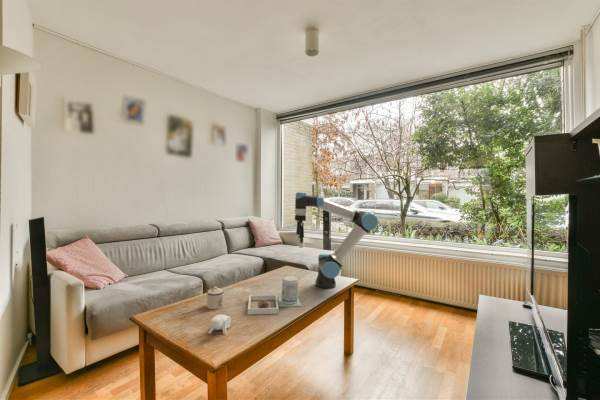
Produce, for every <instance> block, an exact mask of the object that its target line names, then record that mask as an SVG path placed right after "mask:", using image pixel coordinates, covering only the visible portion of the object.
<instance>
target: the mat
mask: <svg viewBox="0 0 600 400" xmlns="http://www.w3.org/2000/svg"><path fill="white" fill-rule="evenodd" d="M277 300H278V307H279V308H289V307H291V308H292V307H295V308H297V307H302V303H301V301H300V298H299V297H298V296H297V302H296V303H294V304H285V303H283V302H282V297H277Z"/></svg>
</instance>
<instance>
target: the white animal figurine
mask: <svg viewBox="0 0 600 400" xmlns="http://www.w3.org/2000/svg"><path fill="white" fill-rule="evenodd" d="M231 320H232V318H231V316H230V315H229V316H228V315H227V314H216V315H214V317H212V318H211V320H210V322H209V324H210V325H209V327H210V328H209V330H208V331H207V332H208V333H207V334H212V333H213V331H214V330H216V331H222V335H224V336H225V335H226V336H227V334H228V330H227V329H228V328H229V327H230V325H231V322H232V321H231Z"/></svg>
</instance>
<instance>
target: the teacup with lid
mask: <svg viewBox="0 0 600 400" xmlns="http://www.w3.org/2000/svg"><path fill="white" fill-rule="evenodd" d="M206 298H207V301H206V303H207V304H206V308H207V309H209V310H218V309H220V308H222V307H223V302H224V301H223V300H224V290H223V288H219V287H218V286H216V285H215V286H213V287H212V288H211V289H207V291H206Z"/></svg>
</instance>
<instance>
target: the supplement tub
mask: <svg viewBox="0 0 600 400" xmlns="http://www.w3.org/2000/svg"><path fill="white" fill-rule="evenodd" d="M298 279H299V278H298V277H297V276H293V275H287V276H283V277H282V282H281V284H282V285H281V298H282V302H283V303H285V304H294V303H296V302H297V297H298V292H299V291H298V289H299V288H298V287H299V280H298Z"/></svg>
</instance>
